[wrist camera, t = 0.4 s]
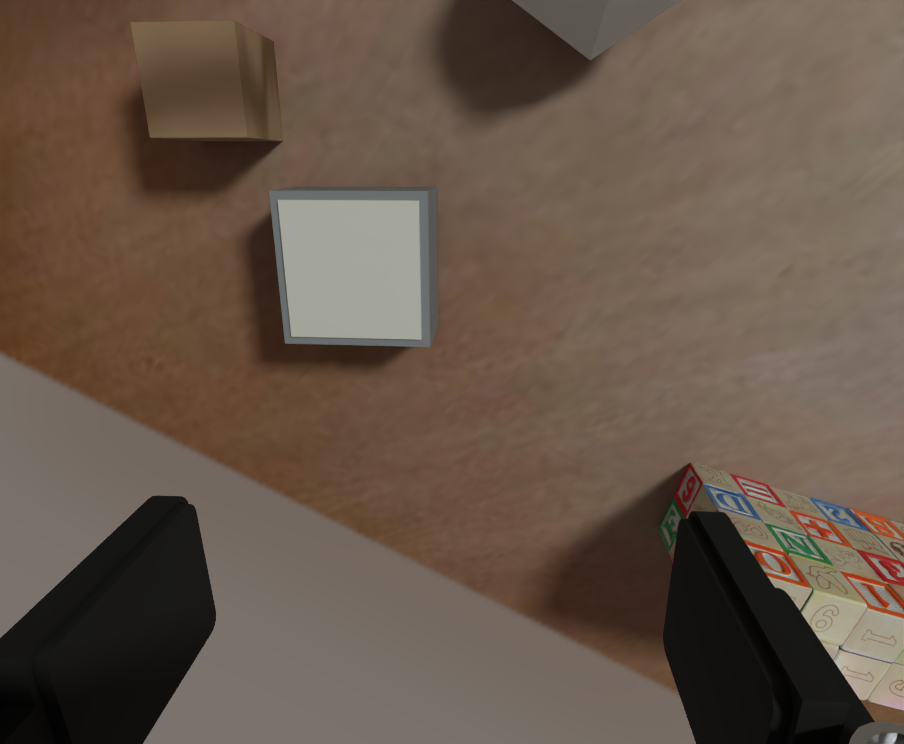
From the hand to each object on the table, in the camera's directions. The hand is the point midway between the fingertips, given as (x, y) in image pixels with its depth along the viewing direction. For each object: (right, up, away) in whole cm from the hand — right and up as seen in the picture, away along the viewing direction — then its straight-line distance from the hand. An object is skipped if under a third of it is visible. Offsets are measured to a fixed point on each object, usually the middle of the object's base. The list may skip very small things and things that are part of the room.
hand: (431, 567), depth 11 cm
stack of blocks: (+27, -8, +32) cm, 43 cm away
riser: (-5, +11, +27) cm, 30 cm away
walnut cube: (-13, +21, +24) cm, 35 cm away
